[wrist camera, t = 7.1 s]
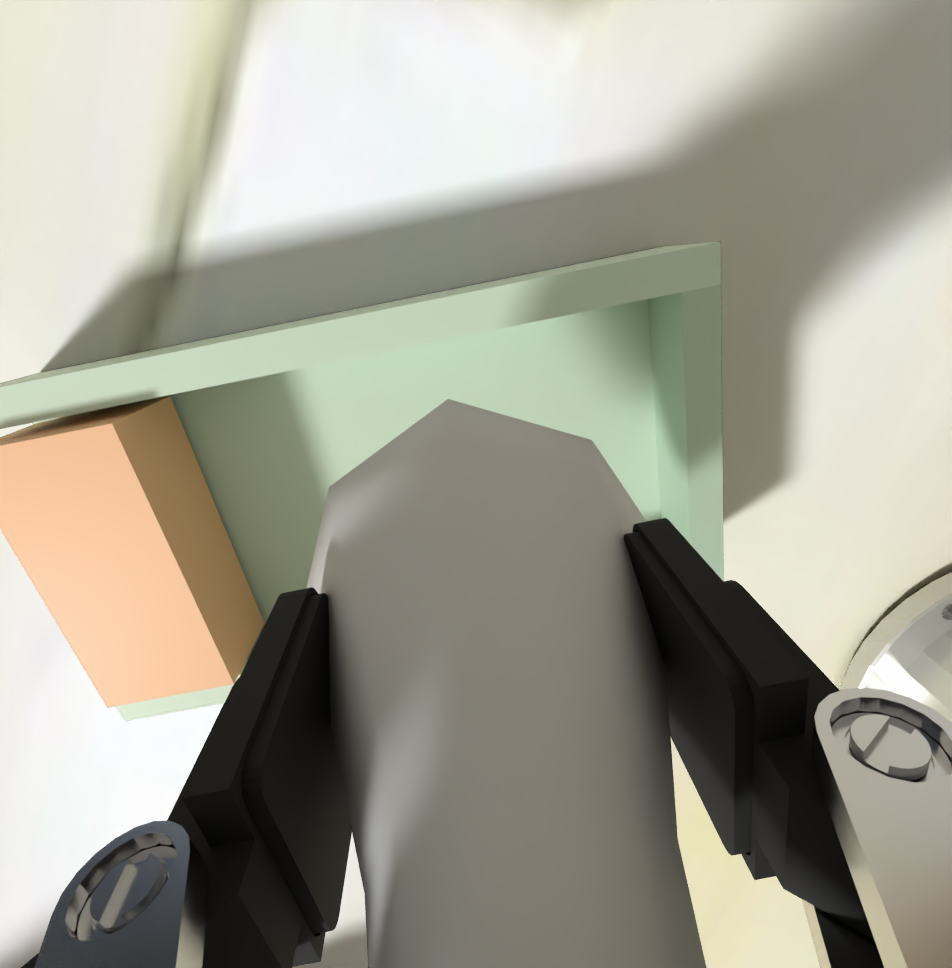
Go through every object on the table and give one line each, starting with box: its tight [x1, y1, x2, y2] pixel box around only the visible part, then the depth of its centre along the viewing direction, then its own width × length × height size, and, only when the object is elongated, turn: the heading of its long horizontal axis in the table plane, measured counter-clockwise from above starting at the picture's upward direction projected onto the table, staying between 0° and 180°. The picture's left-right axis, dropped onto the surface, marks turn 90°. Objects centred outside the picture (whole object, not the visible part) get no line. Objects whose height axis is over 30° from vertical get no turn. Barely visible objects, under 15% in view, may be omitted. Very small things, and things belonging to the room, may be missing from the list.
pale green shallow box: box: [0, 241, 724, 721], centre depth 17 cm, size 20×11×4 cm, turn 100°
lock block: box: [0, 396, 265, 708], centre depth 16 cm, size 4×8×3 cm, turn 10°
